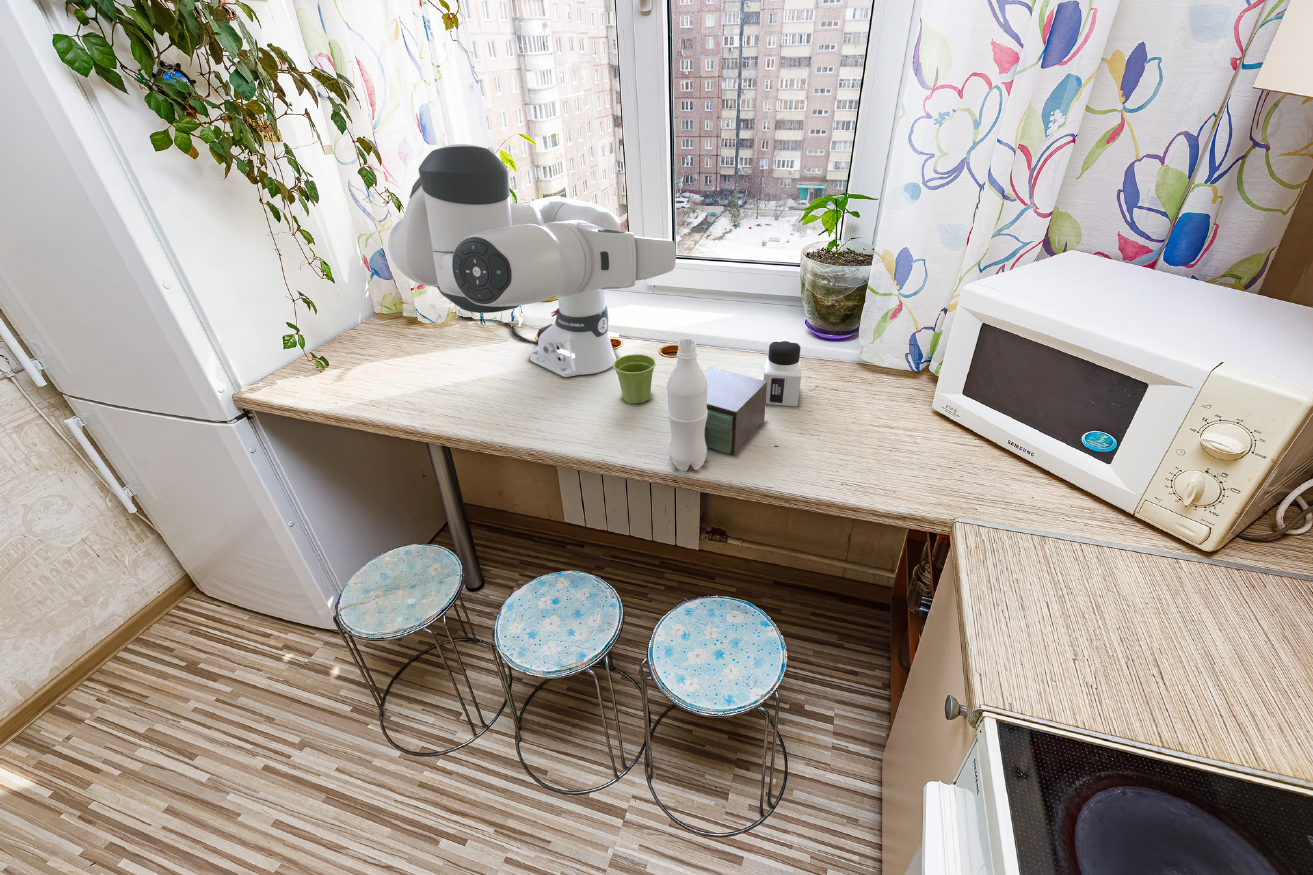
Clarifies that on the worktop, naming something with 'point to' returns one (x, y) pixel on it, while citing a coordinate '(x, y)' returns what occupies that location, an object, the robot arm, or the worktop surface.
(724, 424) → the drawer
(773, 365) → the container
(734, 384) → the cabinet
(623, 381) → the plant pot
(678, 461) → the water bottle
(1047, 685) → the worktop surface
